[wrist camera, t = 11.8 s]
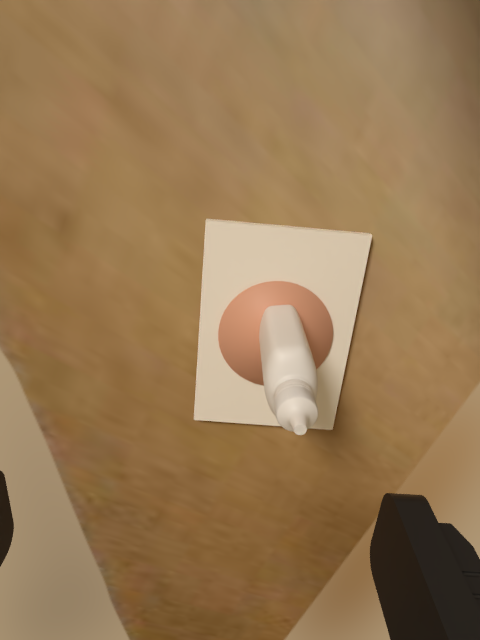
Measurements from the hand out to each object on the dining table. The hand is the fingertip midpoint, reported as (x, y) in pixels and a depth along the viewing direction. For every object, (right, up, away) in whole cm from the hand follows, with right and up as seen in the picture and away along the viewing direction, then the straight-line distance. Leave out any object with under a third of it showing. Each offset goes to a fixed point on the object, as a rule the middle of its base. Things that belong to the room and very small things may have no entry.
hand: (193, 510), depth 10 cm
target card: (+4, +3, +27) cm, 27 cm away
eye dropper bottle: (+4, +3, +26) cm, 26 cm away
